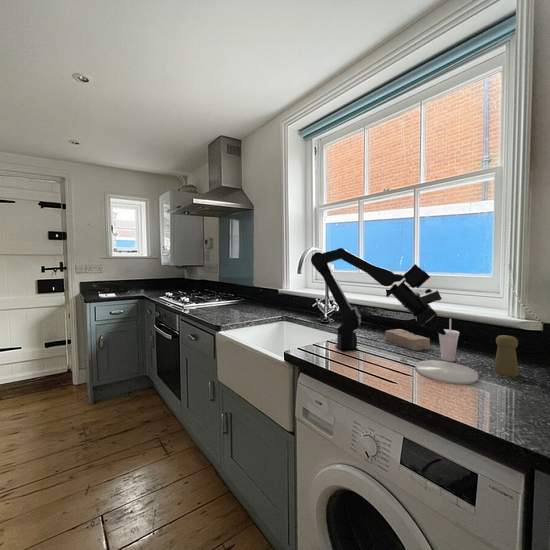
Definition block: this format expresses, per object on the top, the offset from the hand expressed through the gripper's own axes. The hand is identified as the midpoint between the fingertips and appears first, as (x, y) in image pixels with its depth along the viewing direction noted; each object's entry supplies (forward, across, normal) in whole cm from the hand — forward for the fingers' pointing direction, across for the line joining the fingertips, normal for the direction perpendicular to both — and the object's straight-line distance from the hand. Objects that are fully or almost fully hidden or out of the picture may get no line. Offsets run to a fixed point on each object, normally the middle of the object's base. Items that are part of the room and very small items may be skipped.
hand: (442, 331), depth 99 cm
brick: (0, +16, +14) cm, 22 cm away
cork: (+18, -7, -4) cm, 20 cm away
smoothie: (+8, 0, +6) cm, 10 cm away
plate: (+6, -15, +8) cm, 17 cm away
